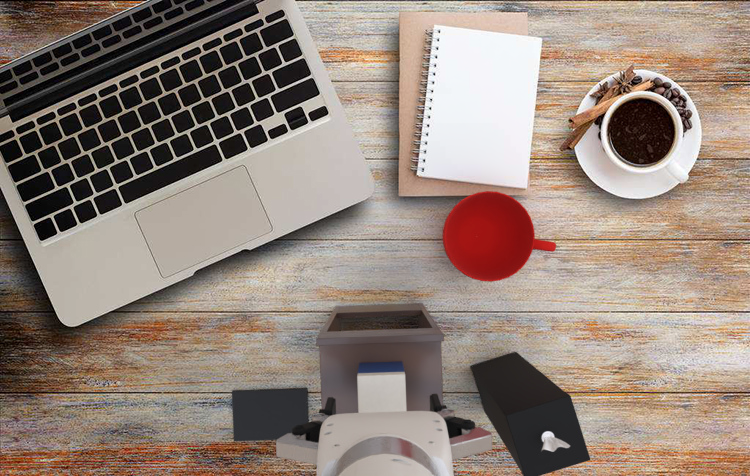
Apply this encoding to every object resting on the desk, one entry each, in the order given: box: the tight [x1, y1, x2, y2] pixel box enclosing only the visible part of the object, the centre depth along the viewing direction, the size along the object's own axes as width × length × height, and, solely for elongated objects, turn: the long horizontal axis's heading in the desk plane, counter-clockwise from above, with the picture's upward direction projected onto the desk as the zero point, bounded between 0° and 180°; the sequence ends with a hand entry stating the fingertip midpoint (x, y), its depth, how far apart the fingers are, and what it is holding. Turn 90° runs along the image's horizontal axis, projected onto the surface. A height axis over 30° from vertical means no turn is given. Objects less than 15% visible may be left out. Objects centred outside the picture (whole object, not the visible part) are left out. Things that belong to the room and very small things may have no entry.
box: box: [357, 361, 406, 413], centre depth 60 cm, size 5×5×6 cm
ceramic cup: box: [441, 190, 557, 283], centre depth 82 cm, size 13×17×10 cm
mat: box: [231, 387, 309, 442], centre depth 87 cm, size 8×12×1 cm, turn 92°
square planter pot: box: [315, 302, 445, 414], centre depth 74 cm, size 12×14×28 cm
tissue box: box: [469, 351, 591, 476], centre depth 74 cm, size 8×8×28 cm
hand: (383, 411), depth 52 cm, fingers open, 9 cm apart
